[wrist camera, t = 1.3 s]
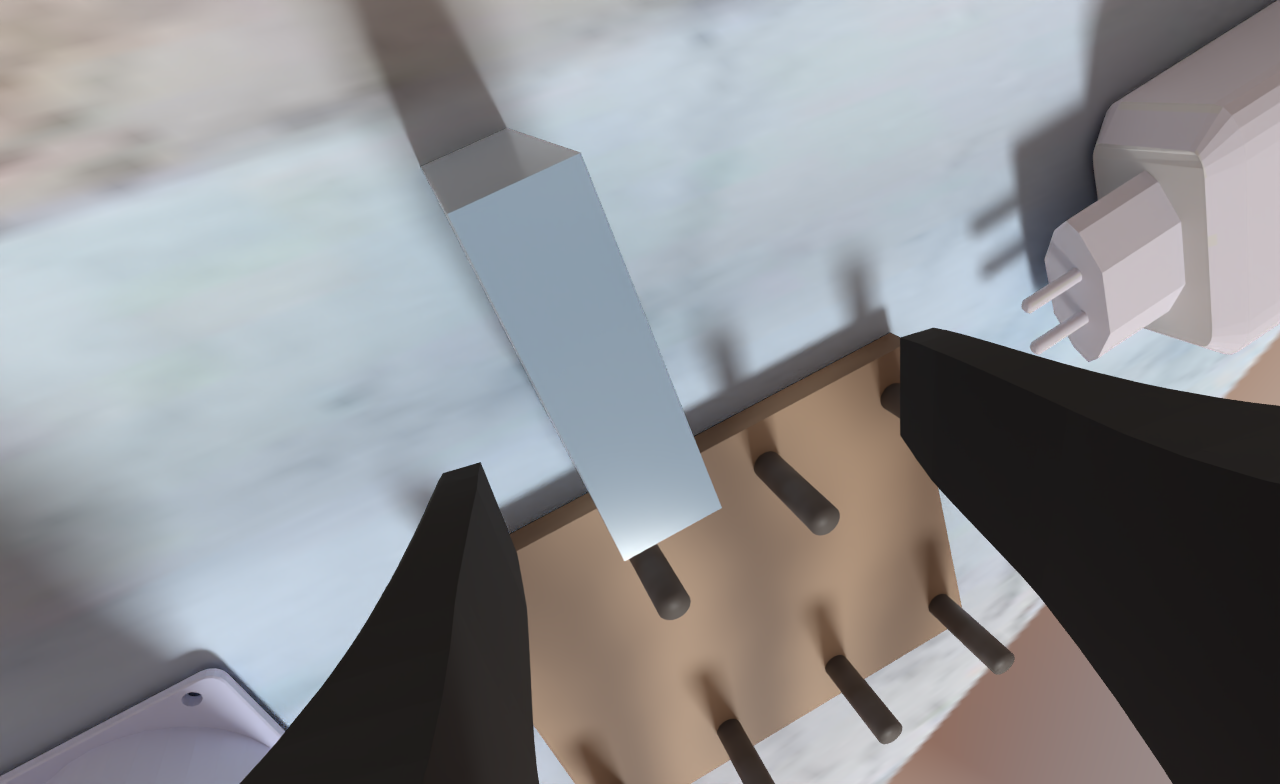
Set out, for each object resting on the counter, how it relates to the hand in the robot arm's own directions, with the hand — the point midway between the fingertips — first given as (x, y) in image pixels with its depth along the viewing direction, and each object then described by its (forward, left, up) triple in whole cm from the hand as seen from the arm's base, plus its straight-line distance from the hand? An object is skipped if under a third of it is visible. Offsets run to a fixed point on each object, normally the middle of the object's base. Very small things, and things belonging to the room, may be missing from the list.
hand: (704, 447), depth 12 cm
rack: (+1, -13, -10) cm, 17 cm away
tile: (-1, +1, -10) cm, 10 cm away
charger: (+21, -7, -10) cm, 24 cm away
